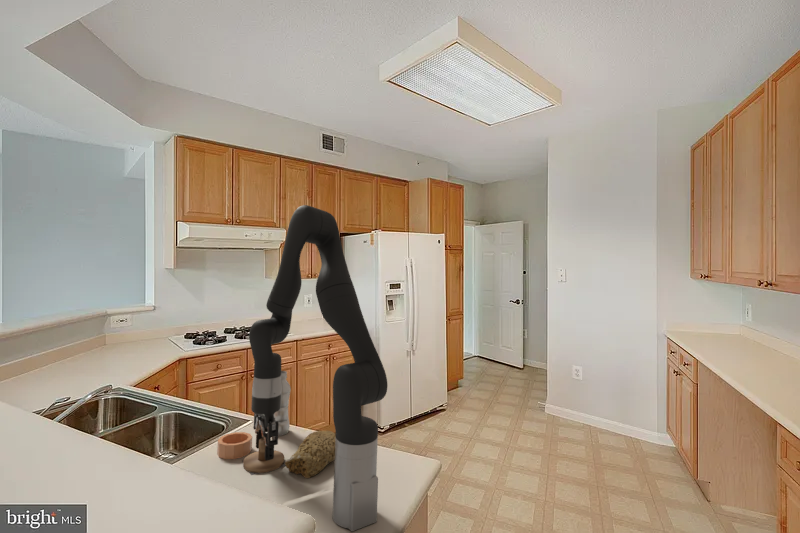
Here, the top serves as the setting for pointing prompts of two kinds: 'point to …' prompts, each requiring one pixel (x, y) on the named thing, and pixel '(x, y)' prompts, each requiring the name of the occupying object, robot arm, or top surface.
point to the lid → (262, 460)
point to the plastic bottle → (283, 406)
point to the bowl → (234, 445)
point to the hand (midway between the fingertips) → (264, 453)
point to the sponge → (313, 454)
